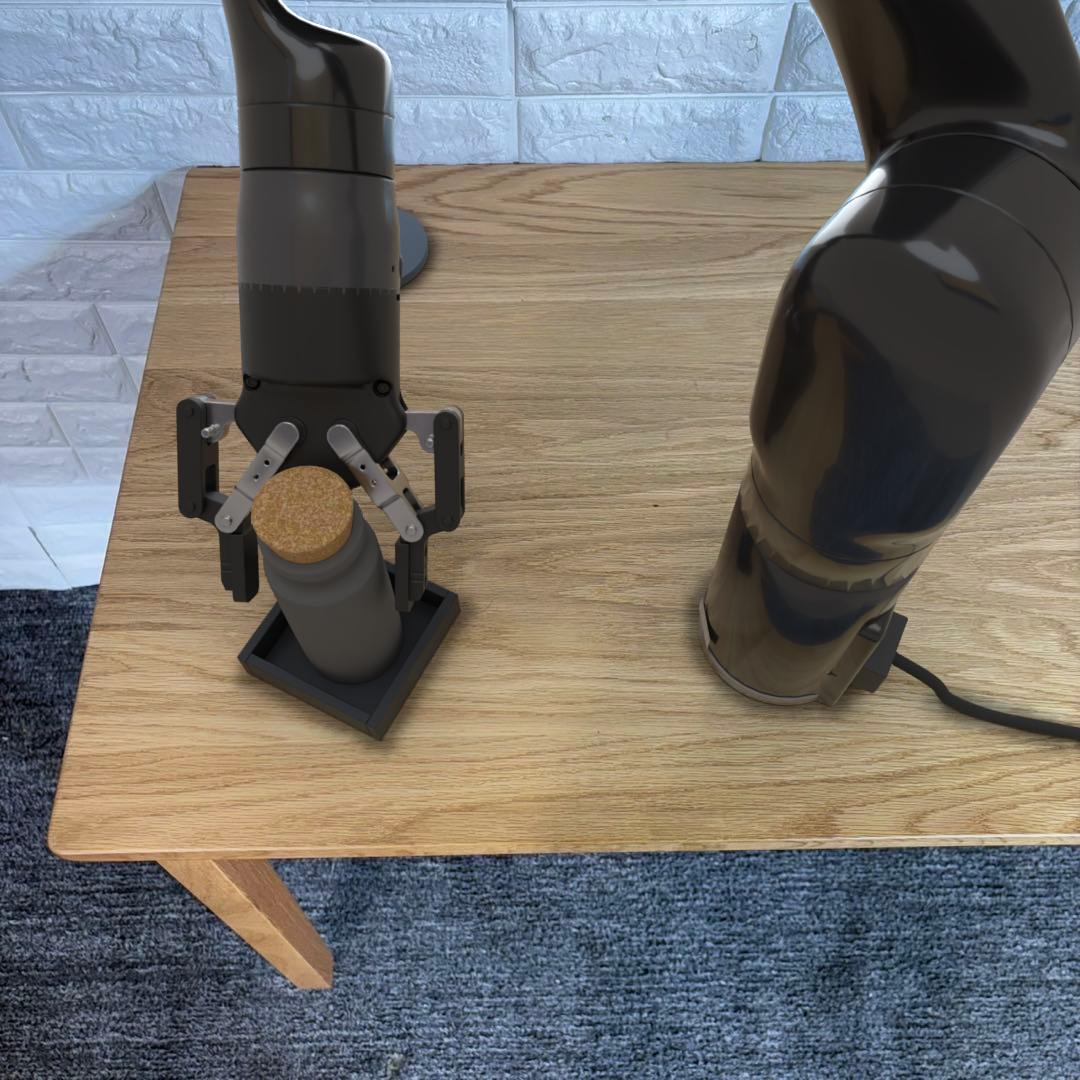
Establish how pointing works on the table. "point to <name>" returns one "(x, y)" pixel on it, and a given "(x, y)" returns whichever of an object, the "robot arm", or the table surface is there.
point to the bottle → (327, 574)
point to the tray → (361, 704)
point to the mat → (411, 246)
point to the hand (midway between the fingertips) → (326, 602)
